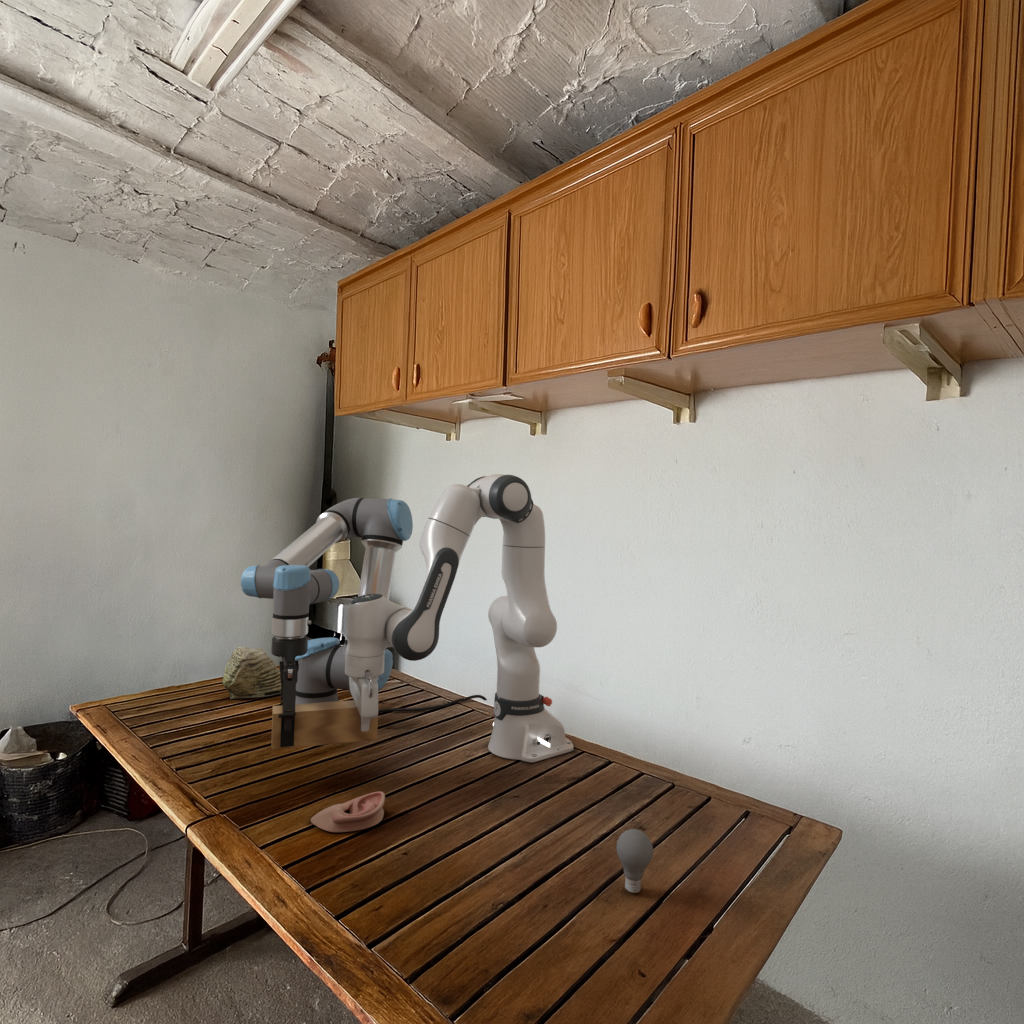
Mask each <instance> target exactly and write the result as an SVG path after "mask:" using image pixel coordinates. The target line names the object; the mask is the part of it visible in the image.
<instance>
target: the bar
mask: <svg viewBox="0 0 1024 1024" xmlns="http://www.w3.org/2000/svg"><path fill="white" fill-rule="evenodd" d="M282 706H283V705H281V706H280V705H272V713H271V751H272V750H273V751H275V750H284V749H293V748H294V749H295V748H304V747H305V748H306V747H313V746H325V745H326V746H327V745H335V744H337V745H338V744H346V743H357V742H367V741H376V740H378V729H379V715H378V716H377V717H376V718H371V719H370V723H369V730H368V731H363V732H362V731H361V728H360V722H361V716H360V714H359V711H358V709H357V706H356V704H355V701H354V699H352V700H339V701H336V702H322V703H309V704H295V712H296V715H295V727H294V746H289V747H280V739H281V718H279V714H282ZM288 711H292V710H288Z"/></svg>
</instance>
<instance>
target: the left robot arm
mask: <svg viewBox="0 0 1024 1024" xmlns="http://www.w3.org/2000/svg"><path fill="white" fill-rule="evenodd" d="M315 521H316V522H315V523H314V524H313V525H311V526H310V527H309V528H308V529H307V530H306V531H305V532H303V533H302V534H300V535H299V536H298V537H297V538H296V539H294V540H293V541H292V542H291V543H290V544H288V545H287V546H286V547H285V548H283V550H281V551H280V552H279V553H278V554H277V555H275V556H273V558H271V559H270V560H269V561H268V562H266V563H265V564H264V565H260V564H257V565H250V566H248V567H246V568H245V569H244V570H243V572H242V574H241V577H240V587H241V590H242V593H244V595H245V596H247V597H253V598H258V599H269V600H273V603H272V604H273V605H272V609H273V611H272V617H271V635H272V636H273V637H272V638H271V649H270V650H271V651H270V652H271V655H272V656H275V657H278V658H280V657H281V660H279V662H278V663H279V665H278V666H279V668H278V669H279V670H280V678H281V692H280V694H279V695H280V698H279V699H280V702H279V706H281V705H283V706H282V714H279V718H281V739H280V747H289V746H294V727H295V715H296V712H295V704H309V703H322V702H336V701H340V699H339V695H338V690H344V691H345V690H346V691H350V686H349V676H348V675H346V674H345V652H346V648H347V644H348V640H347V637H345V638H344V643H343V645H342V644H340V643H341V641H340V639H339V638H338V637H318V638H313V639H309V637H308V636H307V635H308V633H309V625H310V626H311V625H312V620H310V619H309V615H310V605H314V604H317V603H321V602H322V603H323V602H326V601H329V600H331V599H333V598H334V597H335V596H336V595H337V594H338V592H339V590H340V580H339V577H338V575H337V574H336V573H335V572H334V571H333V570H331V569H329V568H317V569H310V567H311V565H313V564H314V563H315V562H316V561H317V560H318V559H319V558H321V556H322V555H324V554H325V553H326V552H327V551H328V550H329V549H330V548H331V547H333V545H334V544H339V543H341V542H344V541H345V540H346V539H348V538H349V539H350V538H359V539H360V538H361V544H362V545H363V546H364V548H365V550H364V551H365V552H364V556H363V562H362V569H361V575H360V581H359V587H358V592H357V593H358V594H357V597H359V596H362V595H366V594H381V595H383V596H384V597H385V598H386V599H388V600H390V594H391V588H392V587H391V586H392V580H393V574H394V568H395V560H396V554H397V552H399V551H400V550H402V548H403V545H404V544H403V543H404V542H406V541H409V540H410V539H411V536H412V534H413V528H414V526H413V525H414V524H413V516H412V512H411V509H410V506H409V504H408V503H407V502H406V501H404V500H401V499H395V498H372V497H371V498H368V497H353V498H349V499H345V500H343V501H341V502H337V503H336V504H333V505H332V506H331V507H329V508H328V509H326V510H325V511H323V512H322V513H321V514H320V515H318V517H317V519H316V520H315ZM393 658H394V657H393V652H392V651H391V650H389V649H388V648H386V649H385V659H384V673H383V674H382V675H379V676H378V680H377V681H376V682H377V684H378V692H380V691H381V690H382V689H383V688H384V687H385V685H386V684H387V683H388V681H389V679H390V676H391V673H392V669H393V665H394V659H393ZM464 698H465V699H464ZM473 699H481V700H483V701H488V699H487V698H486V697H485V696H484V695H481V694H473V695H472V694H471V695H469V696H466V697H461V698H457V699H454V700H451V701H449V702H446V703H441V704H437V705H432V706H431V705H430V706H423V707H409V708H408V707H388V708H380V709H379V708H378V714H380V713H389V712H423V711H432V710H437V709H441V708H442V709H443V708H446V707H449V706H453V705H454V704H457V703H461V702H465V701H469V700H473ZM288 710H292V711H288Z"/></svg>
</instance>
